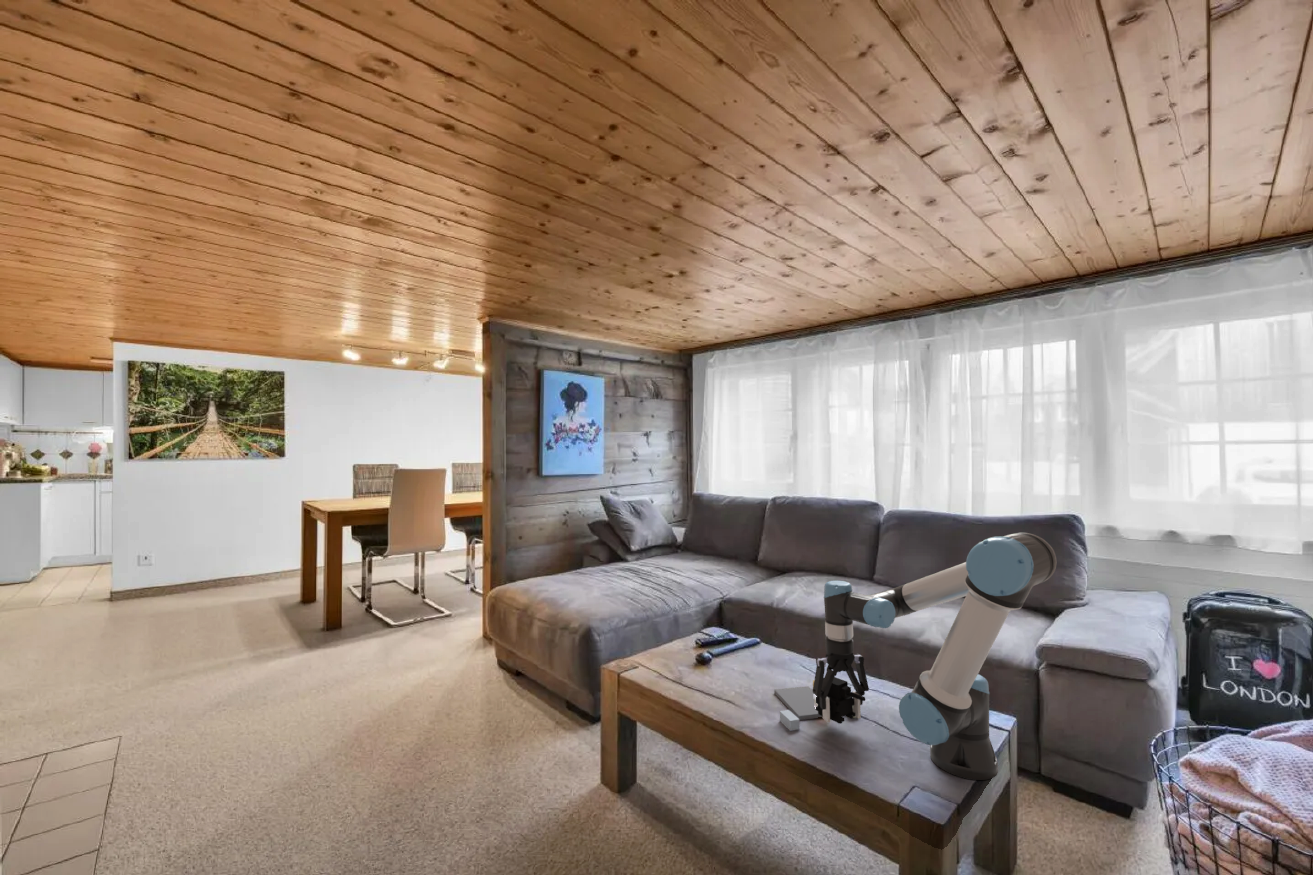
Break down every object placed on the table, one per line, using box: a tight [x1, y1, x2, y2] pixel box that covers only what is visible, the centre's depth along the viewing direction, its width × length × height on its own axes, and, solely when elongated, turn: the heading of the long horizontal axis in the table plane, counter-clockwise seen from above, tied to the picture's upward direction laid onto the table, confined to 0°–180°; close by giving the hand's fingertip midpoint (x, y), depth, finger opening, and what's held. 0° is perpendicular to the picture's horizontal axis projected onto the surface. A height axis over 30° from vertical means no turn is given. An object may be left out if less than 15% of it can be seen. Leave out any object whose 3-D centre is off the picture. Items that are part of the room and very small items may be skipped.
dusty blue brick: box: [779, 709, 801, 732], centre depth 161 cm, size 6×3×3 cm, turn 16°
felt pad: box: [773, 685, 823, 721], centre depth 173 cm, size 18×12×1 cm, turn 11°
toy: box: [816, 676, 866, 725], centre depth 156 cm, size 8×14×10 cm, turn 36°
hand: (841, 718), depth 156 cm, fingers closed on toy, 9 cm apart
